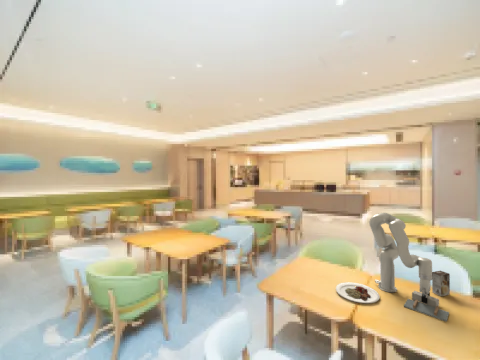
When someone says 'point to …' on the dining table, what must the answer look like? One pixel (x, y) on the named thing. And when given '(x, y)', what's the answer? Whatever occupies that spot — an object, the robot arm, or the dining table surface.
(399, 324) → the dining table surface
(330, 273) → the dining table surface
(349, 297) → the plated food
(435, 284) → the coffee box
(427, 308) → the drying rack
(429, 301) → the light grey block
